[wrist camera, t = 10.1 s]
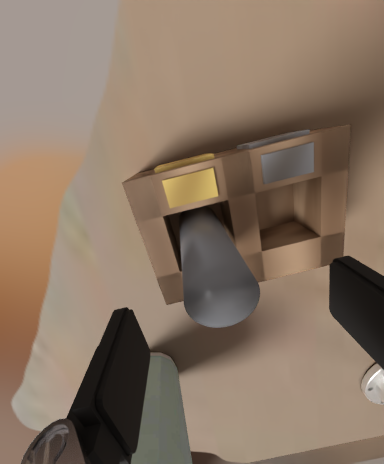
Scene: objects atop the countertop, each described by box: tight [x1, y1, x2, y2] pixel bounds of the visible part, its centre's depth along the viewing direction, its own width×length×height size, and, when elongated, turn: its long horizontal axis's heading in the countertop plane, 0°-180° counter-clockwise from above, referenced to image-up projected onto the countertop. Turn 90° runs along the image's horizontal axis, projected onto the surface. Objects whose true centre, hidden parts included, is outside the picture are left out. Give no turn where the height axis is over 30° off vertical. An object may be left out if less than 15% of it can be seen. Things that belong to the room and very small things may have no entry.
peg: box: [179, 205, 260, 328], centre depth 15 cm, size 4×4×11 cm
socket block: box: [122, 124, 351, 305], centre depth 19 cm, size 16×11×6 cm
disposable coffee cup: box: [131, 352, 192, 464], centre depth 23 cm, size 11×11×15 cm
